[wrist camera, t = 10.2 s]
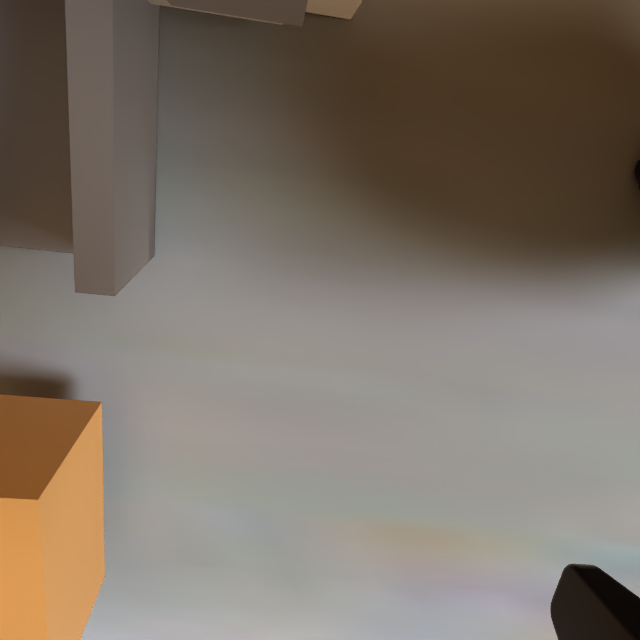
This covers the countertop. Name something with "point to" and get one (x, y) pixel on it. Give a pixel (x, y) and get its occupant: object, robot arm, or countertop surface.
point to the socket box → (94, 124)
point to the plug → (50, 516)
